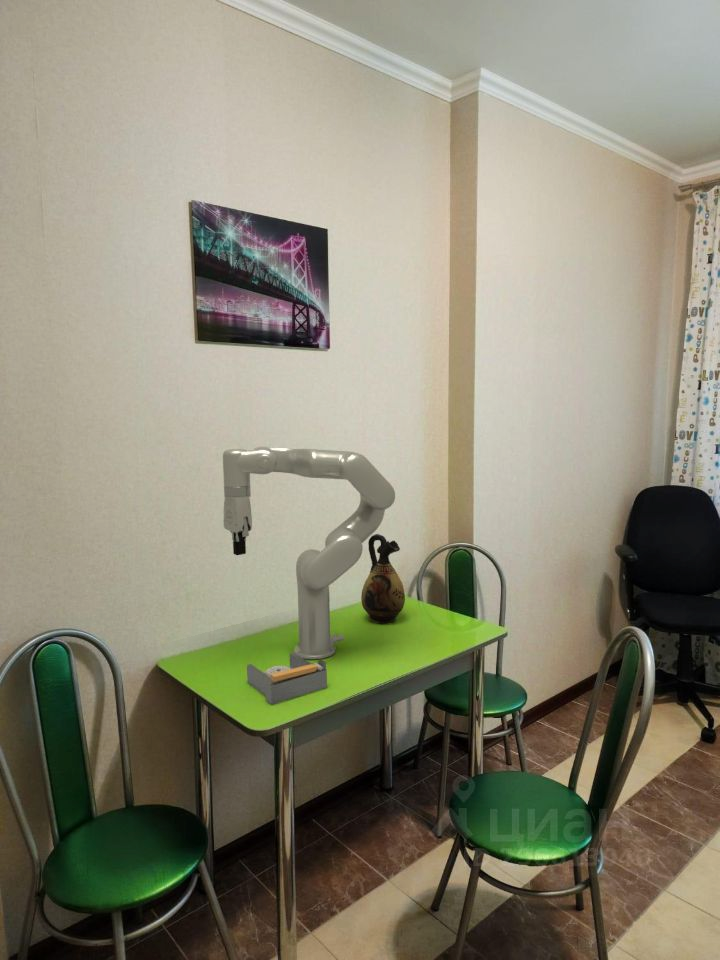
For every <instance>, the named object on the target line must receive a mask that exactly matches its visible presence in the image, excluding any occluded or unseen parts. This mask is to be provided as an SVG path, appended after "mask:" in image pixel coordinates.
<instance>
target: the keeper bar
mask: <svg viewBox="0 0 720 960" xmlns="http://www.w3.org/2000/svg"><path fill="white" fill-rule="evenodd" d="M322 669H323V667H322V666H321V665H319V664H318V662H313V663H311V664H310V665H306V666H302V667H298V668H294V669H290V670H286V671H281V672H277V673H273V674H270V679H271V680H273V681H274V682H275V681H279V680H283V679H287V678H291V677H295V676H299V675H303V674H307V673H311V672H315V671H316V670H320V671H321V670H322Z"/></svg>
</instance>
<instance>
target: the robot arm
mask: <svg viewBox="0 0 720 960" xmlns="http://www.w3.org/2000/svg"><path fill="white" fill-rule="evenodd" d="M222 470H223V471H222V472H223V495H224V496H223V497H224V502H223V528H224V529H225V530H226V531H229V532H230V533H231V537H232V538H231V539H232V545H233V546H232V547H233V548H232V549H233V555H235V556H242V555H246V554H247V550H246V549H247V547H246V541H247V537H249V536H250V533H249V532H250V531H251V530H252V529H253V528H252V527H253V518H252V517H253V515H252V506H251V499H250V498H251V494H252V493H251V491H252V490H251V474H253V475H268V474H270V473H282V474H283V473H284V474H286V473H287V474H293V475H296V476H300V477H304V478H311V479H328V480H329V479H330V480H332V479H333V480H345V481H346V480H347V481H348V482H349V483H350V484H351V485H352V486H353V488H354V489H355V490H356V491H357V492H358V493H359V496H360V500H359V505H358V506H357V509H356V510H355V511H354V512H353V513H352V514H351V515H350V516H349V517H347V518H346V519H345V520H344V521H343V522H342V523H341V524H339V525H338V526H337V527H336V528H334V529H333V530H331V532H330V533H328V534H327V537H326V538H325V541H324V542H325V543H324V545H325V547H324V548H323V549H322V550H321V551H320V550H318V549H311V548H310V549H307V550H304V551H303V552H301V553H300V555H299V556H298V557H297V560H296V563H295V572H296V573H295V574H296V584H297V586H296V587H297V606H298V607H297V609H298V611H297V612H298V614H297V615H298V619H297V620H298V644H297V645H295V647H294V649H293V653H295V654H296V655H298V656H300V657H301V658H303V659H305V660H321V659H326V658H330V657H331V656H333V655H334V654H335V653H336V645H334V644H336V643H338V642H343V641H344V639H345V637H344V635H343V634H342V633H341V634H339V635H336V634H335V633H332V634H331V620H330V619H331V617H330V615H331V613H330V585H331V584H334V583H335V581H337V580H338V579H340V577H342V576H343V575H344V574H345V573H347V572H348V571H349V570H350V569H351V568H352V567H353V566H354V565H356V564H357V562H358V561H359V559H360V558H361V557H362V554H363V548H364V547H363V546H364V545H363V543H364V542H365V541H367V539H368V538H369V537H371V536H372V535H373V534H374V533H375V532H376V530H378V528H379V527H380V526H381V524H382V522H383V519H384V517H385V514H386V513H385V512H386V510H387V509H389V508H390V507H392V505H393V504H394V503H395V500H396V491H395V488H394V486H392V484H391V483H390V482H389V481H388V480H387V479H386V478H385V477H384V476H383V475H382V473H381V472H380V471H379V470H378V469H377V468H376V467H375V466H374V465H373V464H372V462H370V460H369V459H368V458H367V457H365V455H363V454H362V453H358V452H354V451H349V450H348V451H346V450H345V451H344V450H332V449H331V450H330V449H316V448H286V447H285V448H284V447H273V446H272V447H271V446H259V447H255V448H254V449H252V450H249V449H244V448H243V449H242V448H233V449H227V450H224V451H223V452H222Z"/></svg>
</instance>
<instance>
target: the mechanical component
mask: <svg viewBox="0 0 720 960" xmlns="http://www.w3.org/2000/svg"><path fill="white" fill-rule="evenodd" d="M290 669H291V668H290V667H288V666H287V665H285V666H284V665H275V666H272V667H267V670H265V671H264V673H265V674H266V675H267V676H269V677H270V674H273V673H277V672H281V671H286V670H290Z"/></svg>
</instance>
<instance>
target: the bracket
mask: <svg viewBox="0 0 720 960" xmlns="http://www.w3.org/2000/svg"><path fill="white" fill-rule="evenodd" d="M310 664H312V663H311V662H310V661H308V660H307V659H304V658H301V657H300V656H298V655H296V654H295V653H294V652H291V653H289V668H291V669H294V668H298V667H302V666H306V665H310ZM317 664H319V665H321V666H322V667H323V669H322V670H321V671H320V670H316V671H315V672H311V673H307V674H303V675H299V676H295V677H291V678H287V679H283V680H279V681H275V682H274V681H273V680H271V679H270V677H269V676H267V675H266V674H265V672H263V670H261V669H259V668H258V667H256V666H255V665H254V664H251V663H250V664H249V663H248V664H247V665H246V676H247V679H246V681H247V684H249V685H250V686H251V687H252V688H254V689H255V690H257V691H258V692H259V693H261V694H262V695H264V697H265V701H266V702H267V703H268V704H269V705H271V706H273V704H274V705H276V703H277V704H280V703H282V701H283V702H286V701H289V700H292V699H291V698H293V699H295V697H296V698H299V697H302V696H305V695H308V694H307V693H309V694H311V693H310V692H312V693H314V692H313V691H315V692H318V691H320V689H321V690H324V689H323V688H325V689H327V688H328V672H327V671H328V670H327V662H326V661H324V660H321V659H318V661H317ZM326 687H327V688H326ZM317 690H318V691H317ZM304 694H305V695H304ZM301 695H302V696H301ZM298 696H299V697H298ZM288 699H289V700H288ZM285 700H286V701H285ZM279 702H280V703H279Z"/></svg>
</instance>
